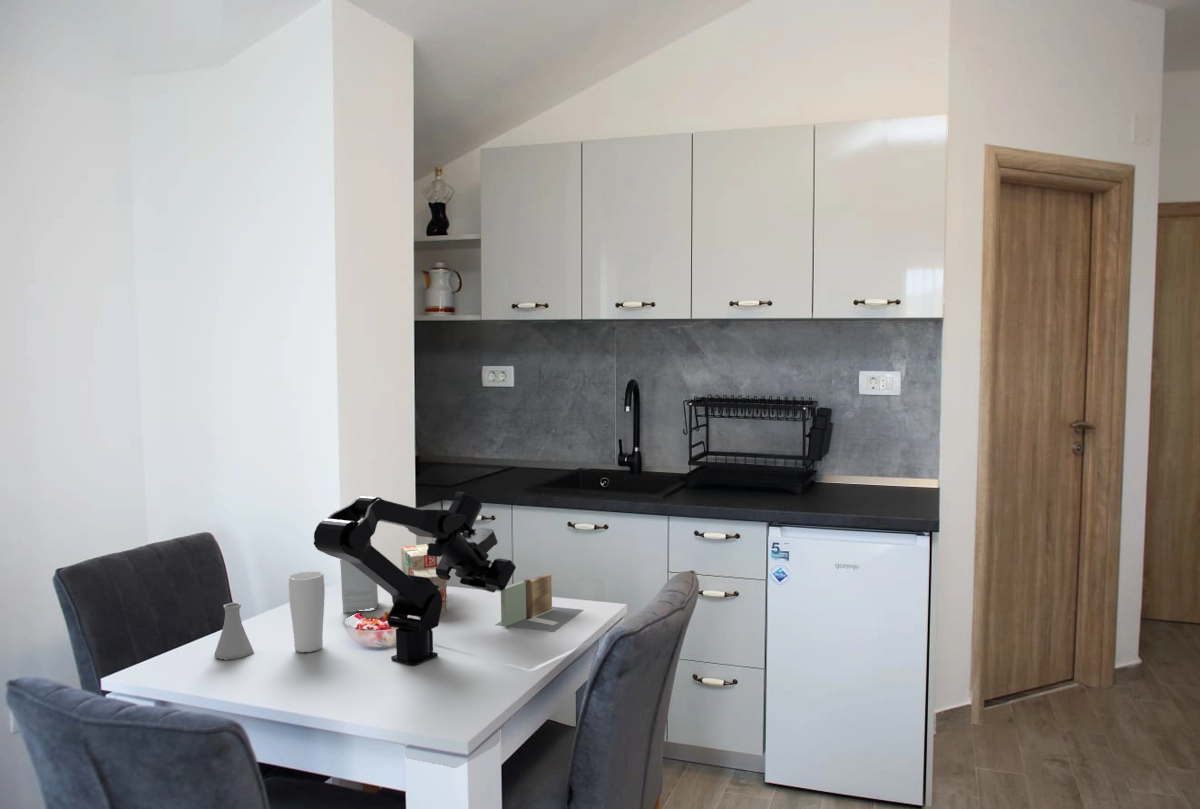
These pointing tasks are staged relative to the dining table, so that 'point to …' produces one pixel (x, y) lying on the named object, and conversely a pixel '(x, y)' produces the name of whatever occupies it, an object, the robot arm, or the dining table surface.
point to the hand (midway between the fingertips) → (494, 590)
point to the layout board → (547, 619)
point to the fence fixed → (538, 595)
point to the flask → (233, 635)
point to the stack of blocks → (423, 568)
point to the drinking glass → (307, 609)
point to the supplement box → (357, 589)
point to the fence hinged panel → (513, 603)
